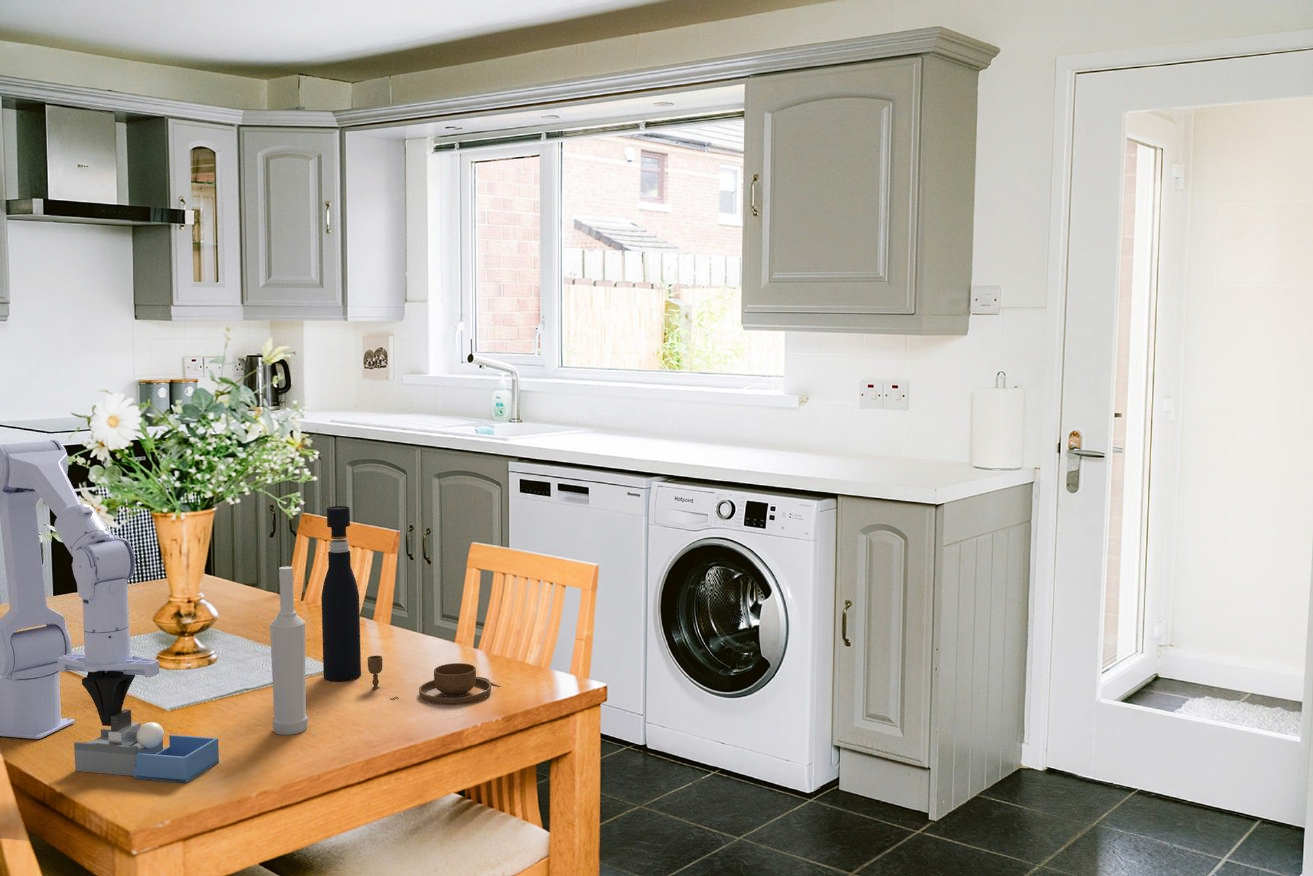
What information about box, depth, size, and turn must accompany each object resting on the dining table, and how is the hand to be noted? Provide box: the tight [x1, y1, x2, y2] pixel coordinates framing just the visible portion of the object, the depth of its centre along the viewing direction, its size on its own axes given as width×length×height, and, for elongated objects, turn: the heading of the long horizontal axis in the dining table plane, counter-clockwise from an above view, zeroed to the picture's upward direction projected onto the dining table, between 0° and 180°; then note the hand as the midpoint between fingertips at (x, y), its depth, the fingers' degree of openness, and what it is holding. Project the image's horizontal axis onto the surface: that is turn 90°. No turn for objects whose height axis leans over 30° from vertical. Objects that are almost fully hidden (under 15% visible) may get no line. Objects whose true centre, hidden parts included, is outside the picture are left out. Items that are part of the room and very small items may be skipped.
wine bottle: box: [320, 505, 362, 683], centre depth 204 cm, size 6×6×30 cm
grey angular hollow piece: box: [108, 708, 142, 746], centre depth 163 cm, size 2×4×4 cm, turn 168°
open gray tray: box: [73, 728, 164, 777], centre depth 163 cm, size 10×6×4 cm, turn 78°
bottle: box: [269, 565, 309, 736], centre depth 177 cm, size 5×5×25 cm
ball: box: [137, 721, 165, 748], centre depth 162 cm, size 4×4×4 cm
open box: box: [133, 734, 220, 784], centre depth 162 cm, size 8×8×4 cm
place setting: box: [367, 655, 502, 706], centre depth 198 cm, size 18×20×6 cm
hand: (110, 723), depth 163 cm, fingers closed
